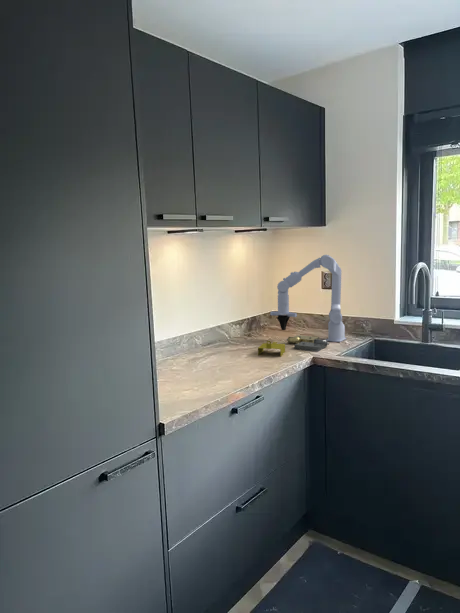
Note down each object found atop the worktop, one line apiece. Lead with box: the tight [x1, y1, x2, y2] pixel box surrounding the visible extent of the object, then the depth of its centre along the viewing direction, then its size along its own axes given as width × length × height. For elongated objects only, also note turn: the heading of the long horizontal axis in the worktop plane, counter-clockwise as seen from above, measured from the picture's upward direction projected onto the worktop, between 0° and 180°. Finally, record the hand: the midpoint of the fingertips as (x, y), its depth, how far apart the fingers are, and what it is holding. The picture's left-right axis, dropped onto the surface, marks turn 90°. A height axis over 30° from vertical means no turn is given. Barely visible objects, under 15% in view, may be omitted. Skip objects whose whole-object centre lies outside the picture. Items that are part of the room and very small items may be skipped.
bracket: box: [257, 340, 286, 357], centre depth 212 cm, size 16×8×15 cm
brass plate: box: [286, 334, 320, 345], centre depth 231 cm, size 13×12×3 cm
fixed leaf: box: [294, 338, 330, 352], centre depth 219 cm, size 13×12×3 cm
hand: (283, 329), depth 239 cm, fingers closed
